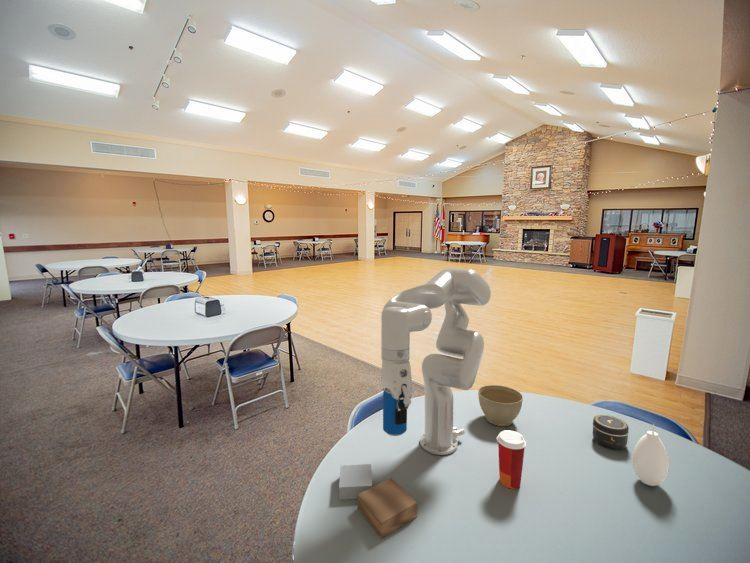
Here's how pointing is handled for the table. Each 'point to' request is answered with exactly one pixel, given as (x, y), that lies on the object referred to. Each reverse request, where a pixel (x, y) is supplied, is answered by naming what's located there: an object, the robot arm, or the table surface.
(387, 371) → the robot arm
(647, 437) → the white egg shaped candle
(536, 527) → the table surface
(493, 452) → the table surface
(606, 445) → the jar
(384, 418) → the beverage can
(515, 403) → the planter bowl
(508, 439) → the paper cup
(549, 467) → the table surface
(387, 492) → the walnut block
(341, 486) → the grey square block
